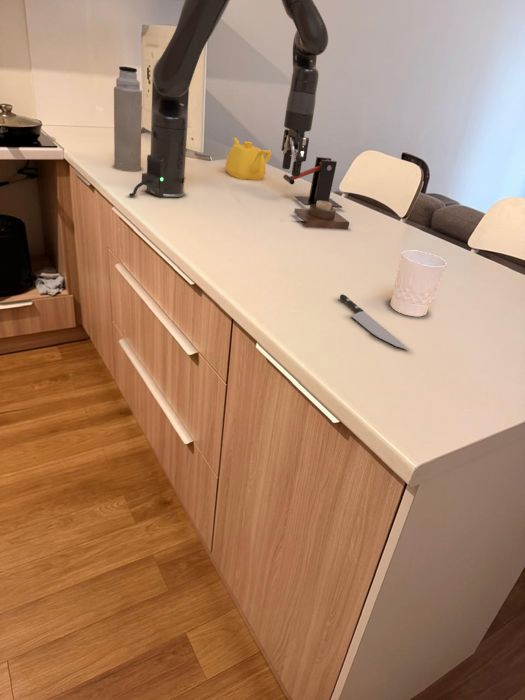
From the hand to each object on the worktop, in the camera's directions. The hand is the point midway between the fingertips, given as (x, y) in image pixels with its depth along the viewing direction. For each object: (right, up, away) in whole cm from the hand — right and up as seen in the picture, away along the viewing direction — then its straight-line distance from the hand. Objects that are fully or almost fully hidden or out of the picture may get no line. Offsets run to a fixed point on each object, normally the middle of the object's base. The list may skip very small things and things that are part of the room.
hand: (290, 172), depth 145 cm
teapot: (-13, +9, +30) cm, 34 cm away
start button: (+8, -13, -10) cm, 19 cm away
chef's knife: (+9, -46, -59) cm, 75 cm away
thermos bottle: (-51, +6, +15) cm, 53 cm away
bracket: (+9, -7, +8) cm, 14 cm away
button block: (+8, -16, -8) cm, 20 cm away
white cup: (+19, -43, -50) cm, 69 cm away
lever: (+5, 0, +2) cm, 6 cm away
